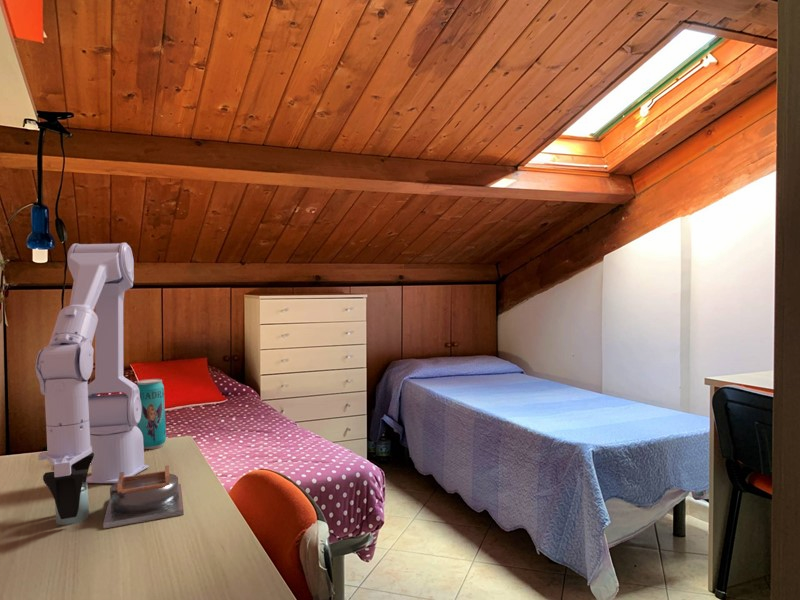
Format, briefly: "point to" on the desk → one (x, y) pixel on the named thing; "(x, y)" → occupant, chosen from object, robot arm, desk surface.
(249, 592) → the desk surface
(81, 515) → the cylinder
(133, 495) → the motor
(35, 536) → the desk surface
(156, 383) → the beverage can
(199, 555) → the desk surface
